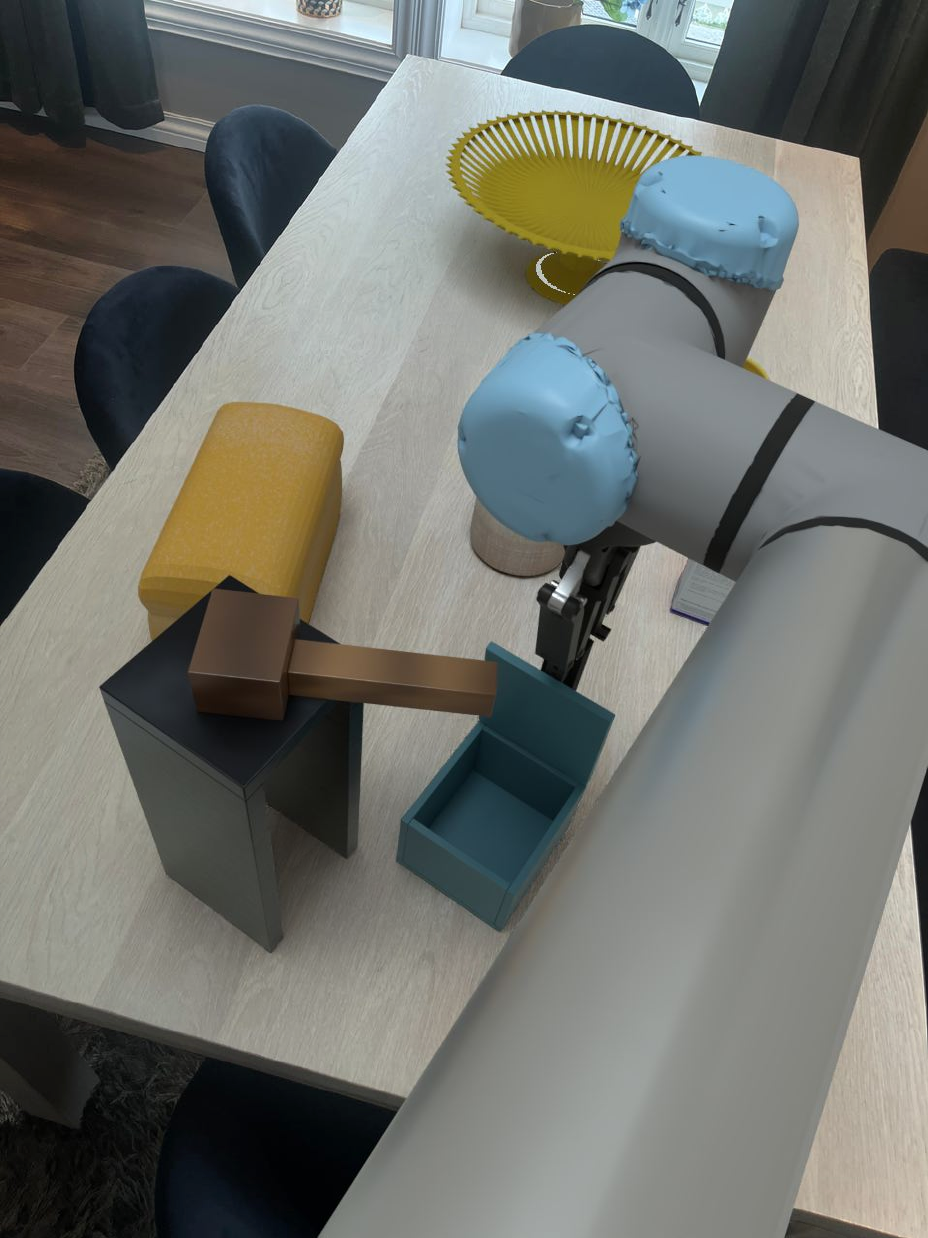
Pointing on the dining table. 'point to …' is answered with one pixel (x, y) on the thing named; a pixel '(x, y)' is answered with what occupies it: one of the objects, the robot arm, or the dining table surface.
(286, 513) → the bread
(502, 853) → the caddy
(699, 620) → the supplement box
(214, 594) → the mallet
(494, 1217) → the robot arm
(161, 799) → the black arch block
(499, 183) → the cake stand
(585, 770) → the lid
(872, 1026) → the dining table surface
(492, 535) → the planter
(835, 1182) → the dining table surface
